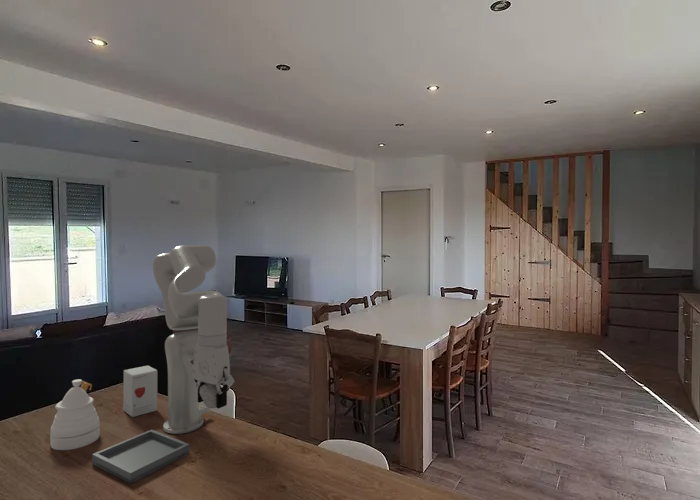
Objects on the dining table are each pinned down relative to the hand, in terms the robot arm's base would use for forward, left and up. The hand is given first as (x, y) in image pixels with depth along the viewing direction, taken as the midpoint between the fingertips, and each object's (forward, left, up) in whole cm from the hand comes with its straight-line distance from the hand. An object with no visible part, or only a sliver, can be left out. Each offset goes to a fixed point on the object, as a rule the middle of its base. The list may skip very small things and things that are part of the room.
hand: (212, 403), depth 117 cm
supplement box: (-12, -52, -18) cm, 56 cm away
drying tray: (+8, -20, -17) cm, 28 cm away
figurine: (+1, -67, -18) cm, 69 cm away
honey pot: (+12, -48, -18) cm, 52 cm away
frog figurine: (0, 0, -1) cm, 1 cm away
